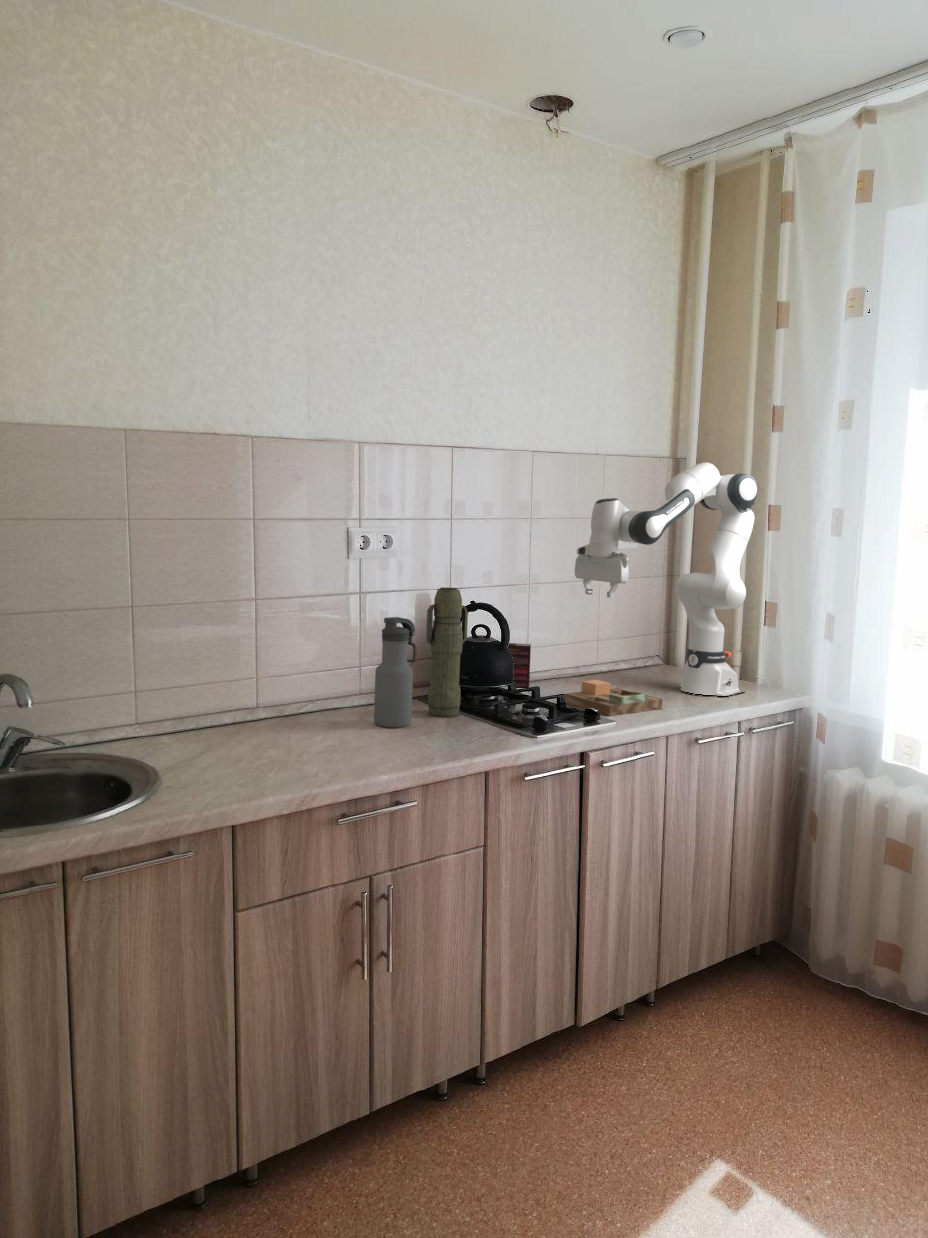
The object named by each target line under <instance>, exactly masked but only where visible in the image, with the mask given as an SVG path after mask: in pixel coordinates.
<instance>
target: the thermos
mask: <svg viewBox="0 0 928 1238" xmlns="http://www.w3.org/2000/svg"><path fill="white" fill-rule="evenodd" d="M433 599H434V603H433V604H431V605H429V607H428V608H427V611H426V643H427V644H430V649H429V650H430V653H431V665H430V667H431V669H430V686H429V688H428V692H427V693H428V695H427V698H428V699H427V705H428V712H427V714H428V715H429V716H431V717H435V718H448V719H449V718H456V717H458V716H460V706H461V696H462V695H461V688H460V673H461V672H460V669H461V668H460V667H461V655H462V653H463V644H464V643H465V642H466V641H467V640H468V620H469V610H468V608H467V607H466V606H465V605H463V599H462V594H461V591H460V589H458V588H456V587H448V586H447V587H445V586H443V587H440V588H438V589H437V591H436V594H435V596H434V598H433ZM433 617H434V618H433ZM433 619H434V620H433Z"/></svg>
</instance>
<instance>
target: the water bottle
mask: <svg viewBox="0 0 928 1238" xmlns="http://www.w3.org/2000/svg"><path fill="white" fill-rule="evenodd" d="M383 620H384V621H383V623H384V624H385V625H384V628H382V630H381V642H382V650H381V651H382V654H381V663H380V664H378V666H376V668H375V673H374V674H375V679H374V707H373V708H374V709H373V710H374V711H373V722H374V724H375V725H377V726H378V727H382V728H388V729H401V728H407V727H408V726H410V725H411V724H412V717H413V716H412V713H413V683H414V671H413V668H412V667H411V666H410V665H409V664H408V663H413V664H414V663H416V662H417V656H418V655H417V649H418V647H417V644H416V643H415V642H413V637H415V635H416V628H415V624H414V623H413V621H412V620H410V619H408V618H404V617H398V616H392V617H391V616H389V617H384V618H383ZM397 624H401V626H398V625H397ZM408 646H412V649H413V654H412V659H408V652H409V651H408V649H409V647H408Z"/></svg>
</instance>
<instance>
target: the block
mask: <svg viewBox="0 0 928 1238" xmlns="http://www.w3.org/2000/svg"><path fill="white" fill-rule="evenodd" d="M610 688H611V682H608V681H604V680H603V681H602V680H600V679H593V680H592V679H589V680H582V681H581V690H580V692H585V693H588V694H592V695H602V694H610Z"/></svg>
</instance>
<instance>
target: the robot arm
mask: <svg viewBox="0 0 928 1238" xmlns="http://www.w3.org/2000/svg"><path fill="white" fill-rule="evenodd" d="M758 487H759V486H758V484H757V481H756V479H755V478H754V476H752V475H750V474H747V473H732V474H723V475H720V471H719V469H718V468H717V467H716V466H715V465H714V464H712V463H711V462H706V461H705V462H704V461H703V462H700V463H698V464H697V463H696V464H694V465H692V466H690V467H688V468H686V469H684V470H683V471H681V472H679V473H678V474H676V475H675V476H673V477H672V478H671V479H670V480H669V481H667V483H666V484H665V488H664V495H665V496H664V497H665V499H666V501H665V502H664V503H662V505H660V506H659V507H657V508H656V509H654V510H644V511H641V510H640V511H639V510H637V511H635V510H632V509H630V508H628V507H627V506H625V505H624V504H623V503H622V502H621V500H620V499H619V498H616V497H615V498H614V497H610V498H601V499H598V500H597V501H595V503H594V505H593V508H592V511H591V512H592V513H591V520H590V530H591V533H590V537H589V541H588V542H589V543H588V544H585V545H583V546H580V547H578V548H576V555H578V556H577V557H576V559H575V564H574V576H575V578H576V579H580V580H583V581H582V584H583V586H584V589H585V591H584V592H585V593H584V594H585V595H590V596H591V595H593V591H594V590H593V588H591V583H592V581H595V582H596V581H597V582H604V583H609V586H610V588H609V591H606V598H610V599H613V598H615V594H616V593H615V592H616V590H617V589H618V588H619V584H622V585H624V584H625V585H626V584H627V583H628V582H629V579H630V578H629V576H630V575H629V557H628V555H627V554H626V553H624V552H619V541H620V542H623V543H624V542H626V543H636V544H641V545H645V546H646V545H647V546H648V545H653V544H655V543H656V542H657V541H658V540H660V538H661V537H662V536H663V534H664V533H665V531H666V530H667V529H668V528H669V527H670V526H671V525H672V524H673V523H675V522H676V521H678V519H680V518H681V517H682V516H684V515H685V514H687V512H688V511H690V509H692V507H694V506H695V505H697V504H698V503H700V505H701V506H702V507H703V508H705V509H707V510H712V511H717V510H720V514H721V515H720V521H719V523H718V524H717V526H716V529H715V531H714V534H713V536H712V539H711V542H710V544H709V547H708V549H707V552H706V553H707V557H708V559H709V560H710V561H711V562H712V569H711V572H710V573H705V572H704V573H703V572H696V571H695V572H690V573H685V574H682V575H681V576H680V577H679V578H678V579H677V580H676V582H675V583H676V584H675V589H674V590H675V591H674V592H675V594H676V597H677V599H678V600H679V601H680V602H681V604H682V605H683V608H684V609H685V612H686V615H687V619H688V620H687V621H688V629H689V630H688V647H687V648H686V654H685V655H686V658H685V659H686V660H687V661H686V663H684V668H683V673H682V674H683V675H682V678H681V683H679V686H681V688H680V689H681V690H683V691H685V692H689V693H694V694H693V695H695V694H703V695H723V696H725V695H729V694H732V693H735V692H738V691H740V690H739V688H738V687H739V675H738V673H737V672H736V671H735V669H733V668H732V667H731V666H730V665H729V664H728V663H727V660H726V659H728V658H729V659H730V658H731V657H732V652H731V651H726V650H724V643H725V642H724V641H725V626H724V625H723V623H722V622H721V621H720V620H719V618H718V617H717V615H716V611H715V610H723V611H724V610H735V609H739V608H740V607H742V605H743V604H744V602H745V601H746V597H747V589H746V585H745V583H744V582H743V580H742V578H741V570H740V568H741V563H742V560H743V557H744V555H745V552H746V549H747V546H748V543H749V541H750V538H751V536H752V532H753V529H754V524H755V513H754V511H752V509H753V508H754V507H755V503H756V500H757V497H758V492H759V491H758V490H759V489H758ZM681 690H680V691H681ZM685 692H684V693H685ZM689 693H688V694H689Z"/></svg>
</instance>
